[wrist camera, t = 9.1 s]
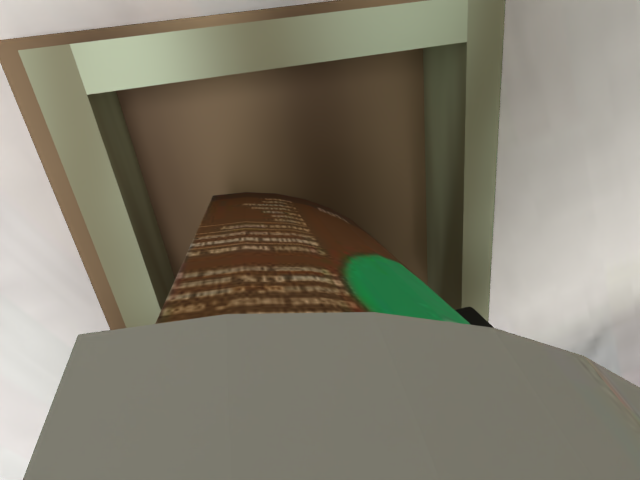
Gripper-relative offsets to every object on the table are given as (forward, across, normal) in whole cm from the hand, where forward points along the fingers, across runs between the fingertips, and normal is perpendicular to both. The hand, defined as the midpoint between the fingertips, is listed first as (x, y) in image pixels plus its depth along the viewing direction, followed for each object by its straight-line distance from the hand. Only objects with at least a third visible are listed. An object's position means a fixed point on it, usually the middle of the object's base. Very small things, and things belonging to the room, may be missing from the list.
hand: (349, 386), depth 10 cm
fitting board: (+6, 0, +6) cm, 9 cm away
